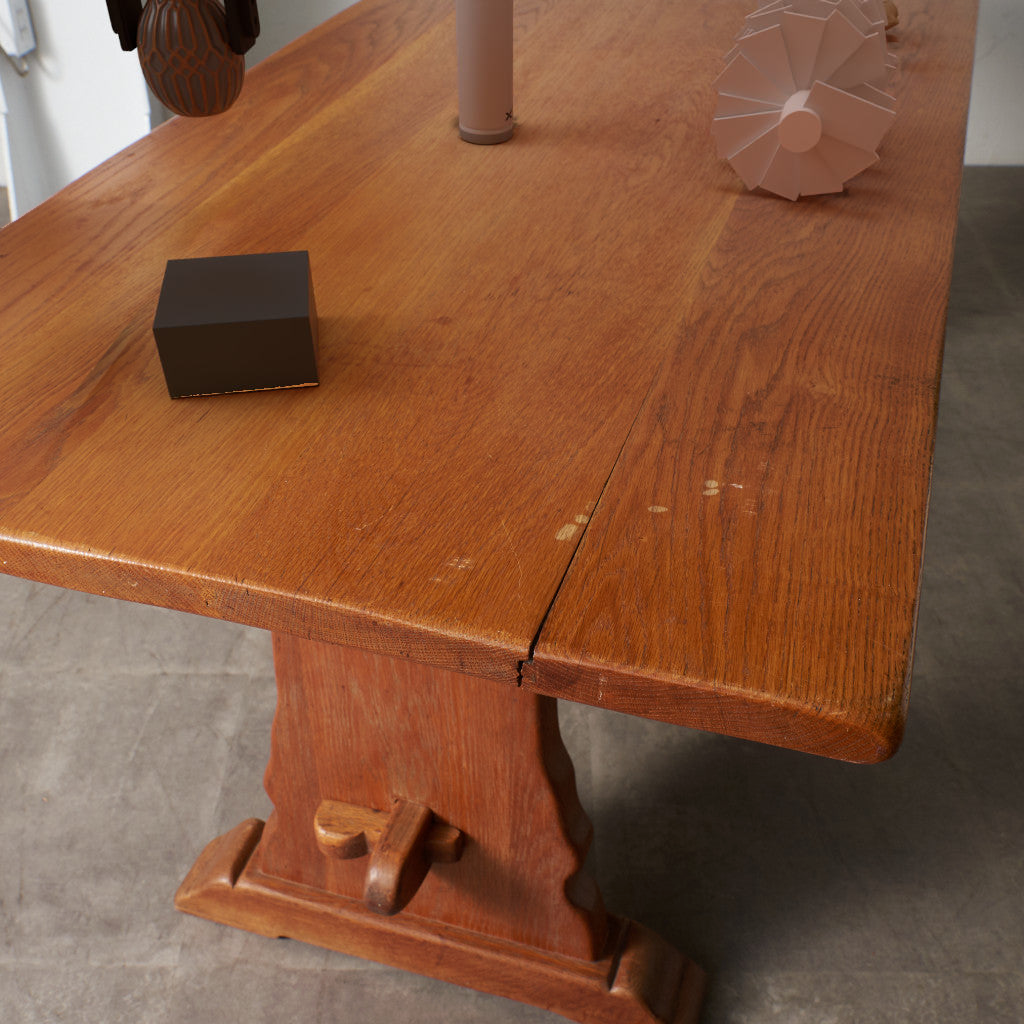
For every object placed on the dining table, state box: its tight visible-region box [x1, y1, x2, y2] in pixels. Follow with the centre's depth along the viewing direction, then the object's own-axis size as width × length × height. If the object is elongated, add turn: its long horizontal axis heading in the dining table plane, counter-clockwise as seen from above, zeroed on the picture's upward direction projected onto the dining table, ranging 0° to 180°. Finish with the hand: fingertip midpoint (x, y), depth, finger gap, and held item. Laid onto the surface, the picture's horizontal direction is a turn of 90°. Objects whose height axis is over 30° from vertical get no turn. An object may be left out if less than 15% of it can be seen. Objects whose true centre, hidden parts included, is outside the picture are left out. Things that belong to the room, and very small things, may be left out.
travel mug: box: [454, 0, 514, 145], centre depth 111 cm, size 6×7×20 cm
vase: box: [136, 0, 246, 119], centre depth 68 cm, size 7×7×9 cm
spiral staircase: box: [709, 0, 898, 202], centre depth 105 cm, size 18×18×25 cm
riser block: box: [151, 249, 320, 399], centre depth 78 cm, size 11×11×6 cm
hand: (189, 45), depth 68 cm, fingers closed on vase, 6 cm apart
